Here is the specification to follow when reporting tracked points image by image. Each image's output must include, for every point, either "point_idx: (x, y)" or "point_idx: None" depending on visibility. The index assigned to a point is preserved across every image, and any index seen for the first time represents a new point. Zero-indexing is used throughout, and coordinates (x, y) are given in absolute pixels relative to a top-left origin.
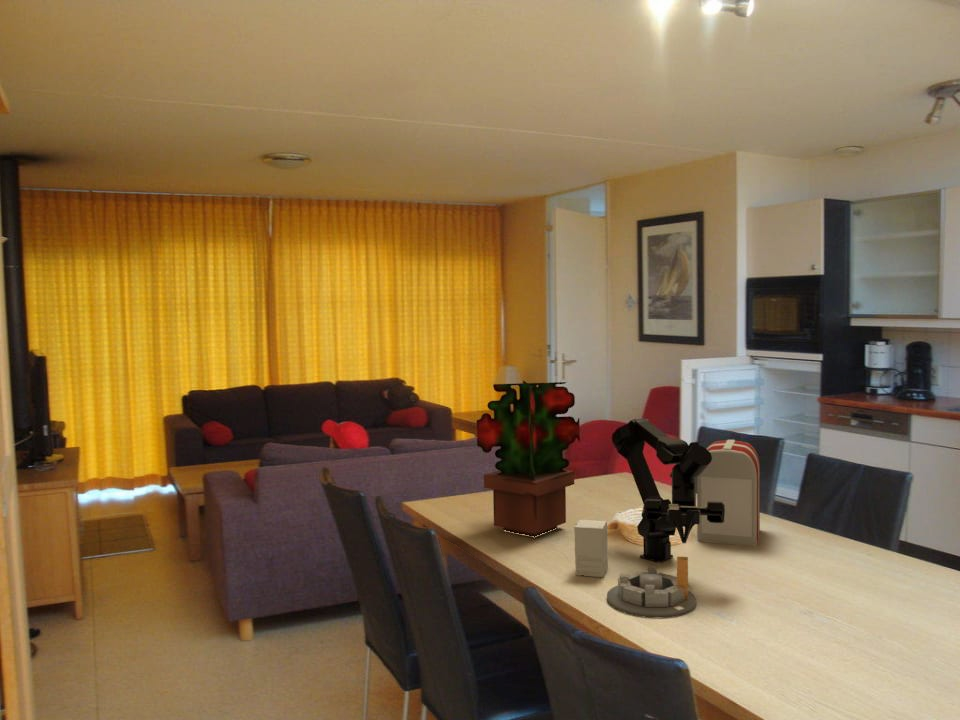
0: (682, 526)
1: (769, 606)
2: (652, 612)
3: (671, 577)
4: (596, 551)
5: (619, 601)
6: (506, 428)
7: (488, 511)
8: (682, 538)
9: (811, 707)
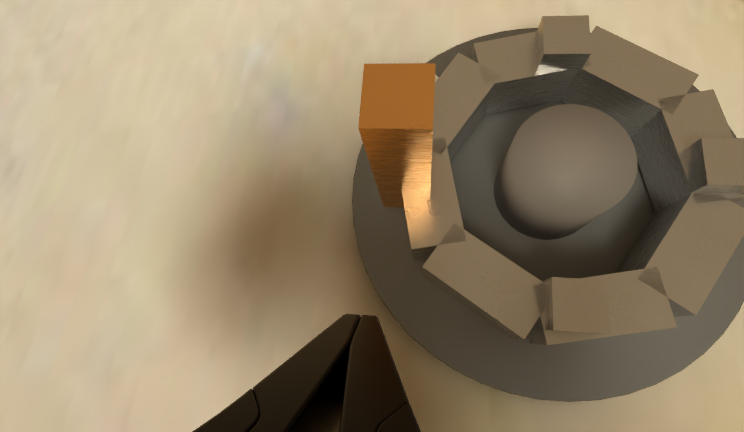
0: (348, 396)
1: (98, 210)
2: (526, 31)
3: (458, 259)
4: None
5: None
6: None
7: None
8: (372, 324)
9: None
